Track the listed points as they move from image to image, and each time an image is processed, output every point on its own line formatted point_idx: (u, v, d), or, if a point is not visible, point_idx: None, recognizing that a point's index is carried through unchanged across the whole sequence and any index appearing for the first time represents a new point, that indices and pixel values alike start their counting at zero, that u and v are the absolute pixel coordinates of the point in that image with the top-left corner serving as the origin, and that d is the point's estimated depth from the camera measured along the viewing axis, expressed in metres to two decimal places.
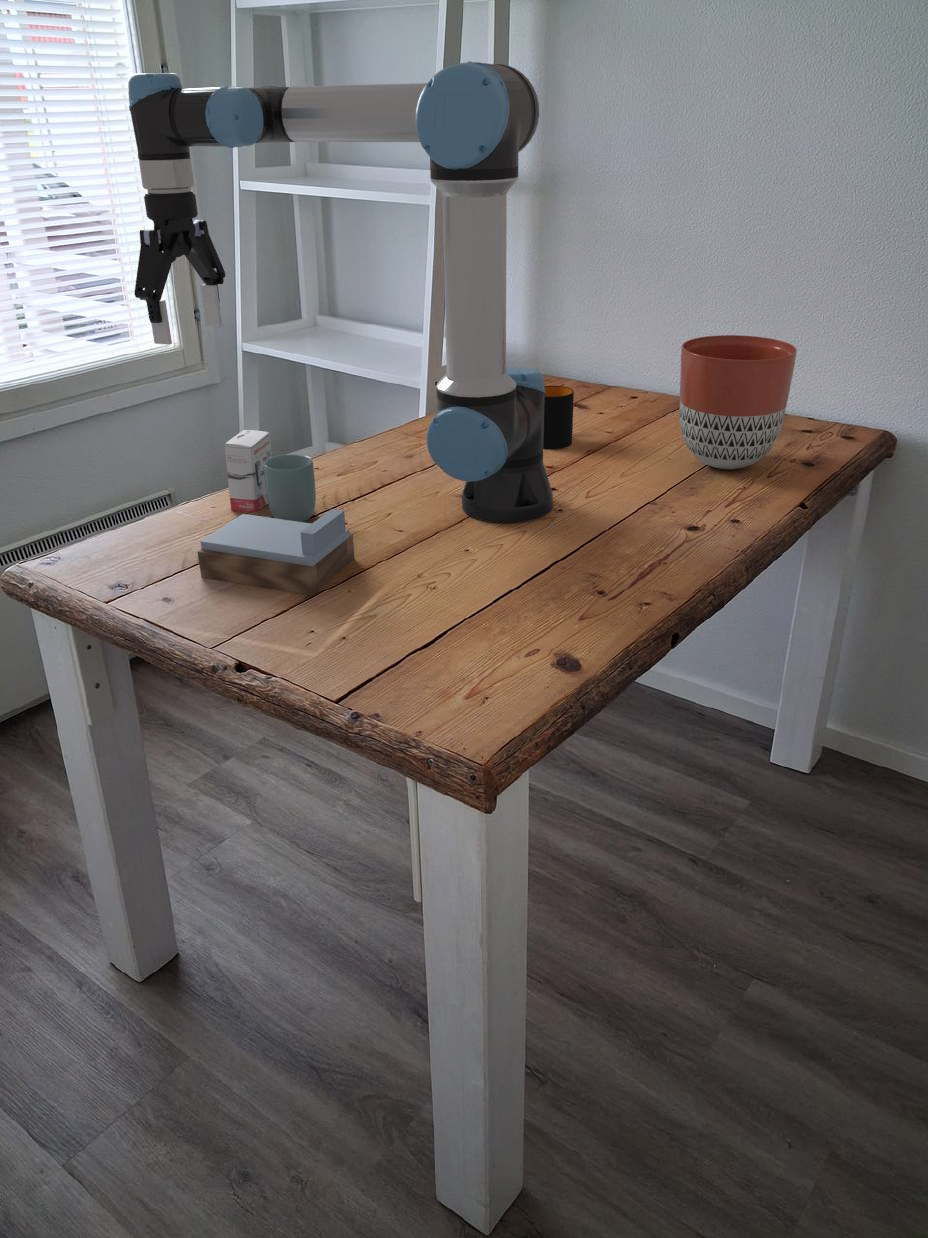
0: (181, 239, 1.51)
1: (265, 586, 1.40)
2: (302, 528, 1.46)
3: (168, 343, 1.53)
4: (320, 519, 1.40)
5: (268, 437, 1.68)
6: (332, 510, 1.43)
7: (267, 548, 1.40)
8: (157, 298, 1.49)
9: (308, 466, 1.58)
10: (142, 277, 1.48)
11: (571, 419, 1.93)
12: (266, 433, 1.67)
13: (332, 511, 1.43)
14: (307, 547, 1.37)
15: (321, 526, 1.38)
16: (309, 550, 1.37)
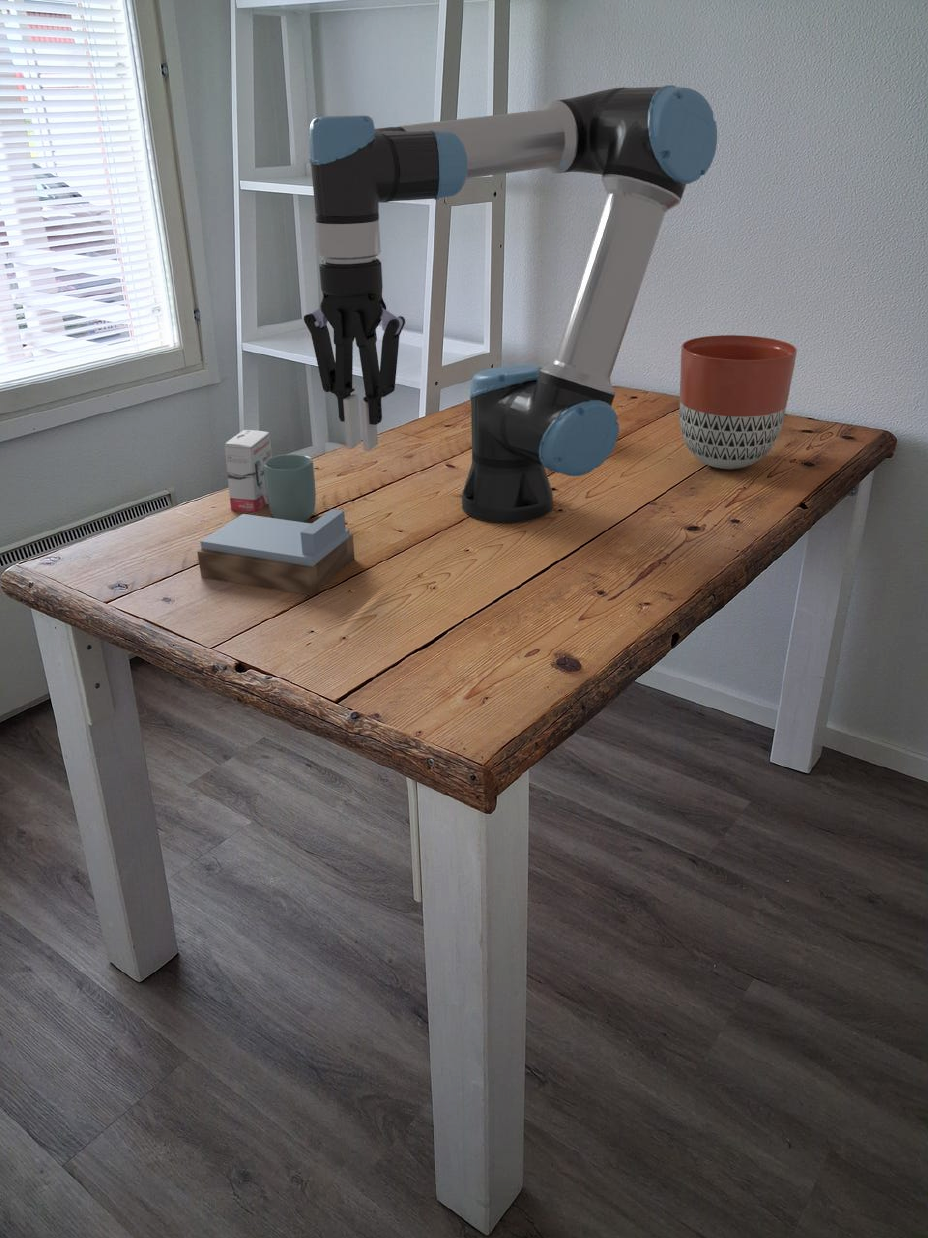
0: (338, 317, 1.23)
1: (265, 586, 1.40)
2: (302, 528, 1.46)
3: (347, 446, 1.31)
4: (320, 519, 1.40)
5: (268, 437, 1.68)
6: (332, 510, 1.43)
7: (267, 548, 1.40)
8: (338, 396, 1.28)
9: (308, 466, 1.58)
10: None
11: None
12: (266, 433, 1.67)
13: (332, 511, 1.43)
14: (307, 547, 1.37)
15: (321, 526, 1.38)
16: (309, 550, 1.37)
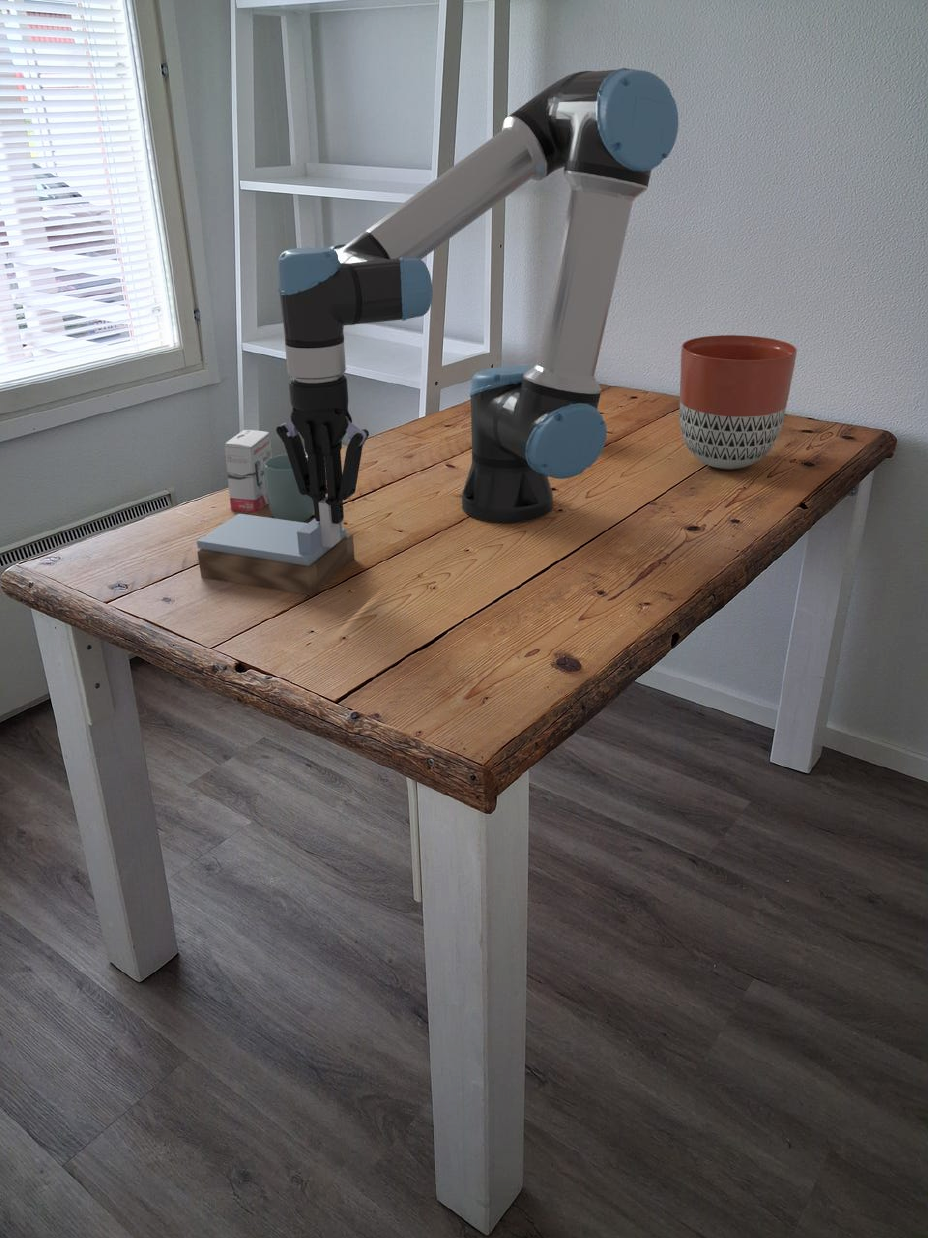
0: (307, 429, 1.31)
1: (265, 586, 1.40)
2: (298, 528, 1.46)
3: (322, 544, 1.40)
4: None
5: (268, 437, 1.68)
6: None
7: (263, 547, 1.40)
8: (314, 499, 1.37)
9: None
10: None
11: None
12: (266, 433, 1.67)
13: None
14: (303, 546, 1.37)
15: (317, 525, 1.38)
16: (306, 549, 1.37)
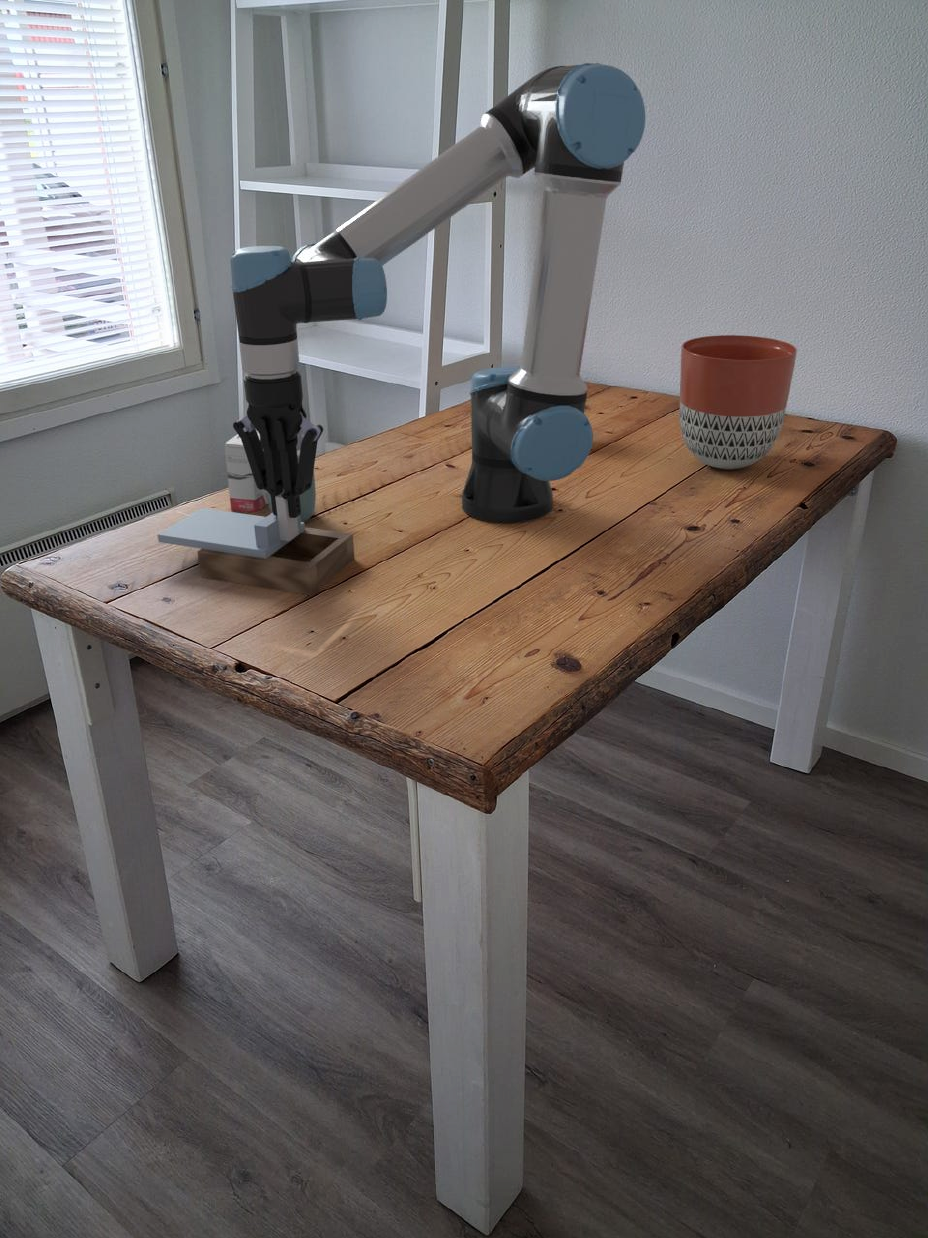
0: (262, 424, 1.34)
1: (265, 586, 1.40)
2: (258, 522, 1.48)
3: (280, 538, 1.42)
4: None
5: None
6: None
7: (222, 541, 1.42)
8: (271, 493, 1.39)
9: None
10: None
11: None
12: None
13: None
14: (260, 540, 1.39)
15: (275, 519, 1.40)
16: (263, 543, 1.39)
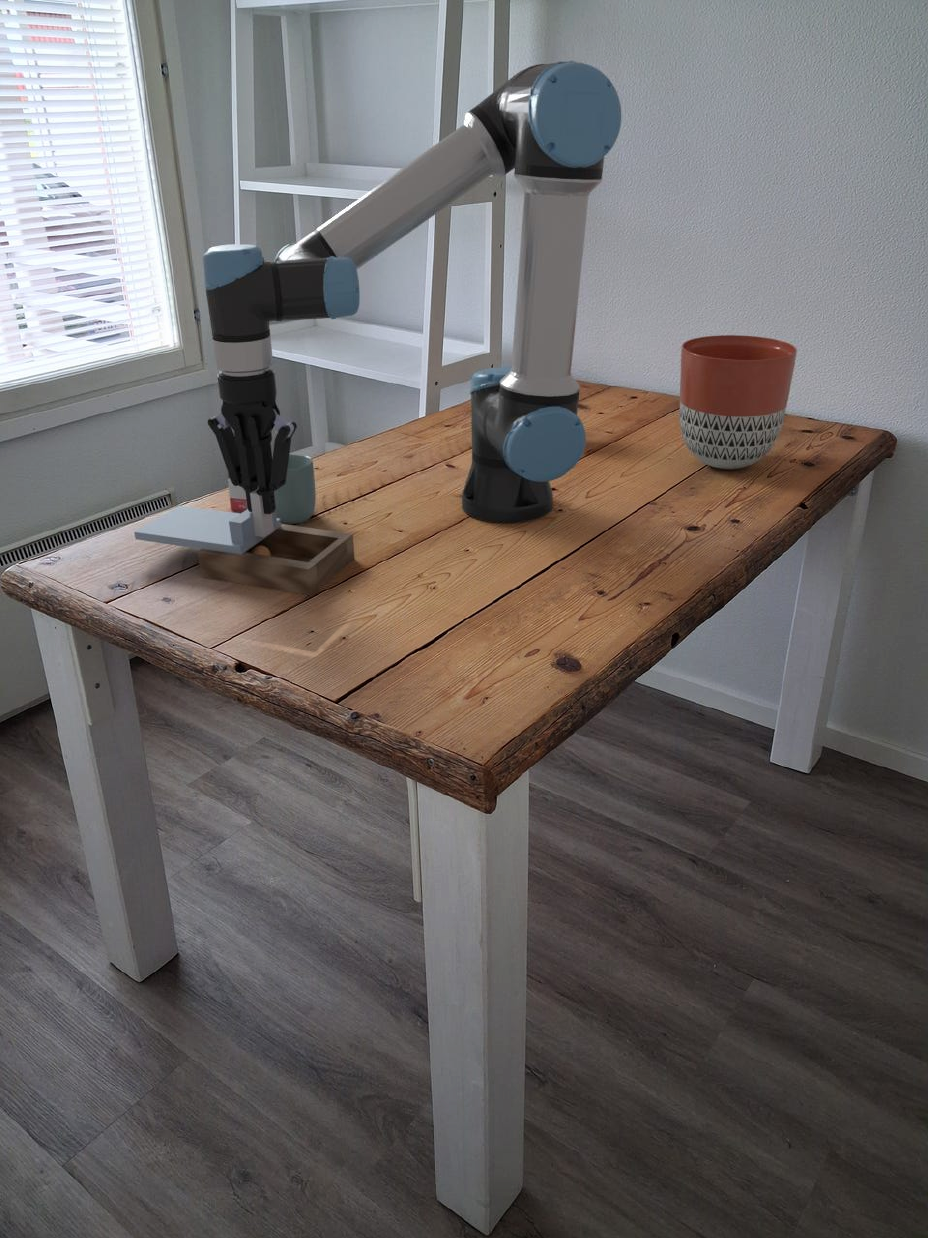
0: (236, 421, 1.35)
1: (265, 586, 1.40)
2: None
3: (255, 534, 1.43)
4: None
5: None
6: None
7: (198, 537, 1.43)
8: (245, 490, 1.40)
9: (308, 466, 1.58)
10: None
11: None
12: None
13: None
14: (235, 536, 1.41)
15: (250, 515, 1.42)
16: (238, 539, 1.41)
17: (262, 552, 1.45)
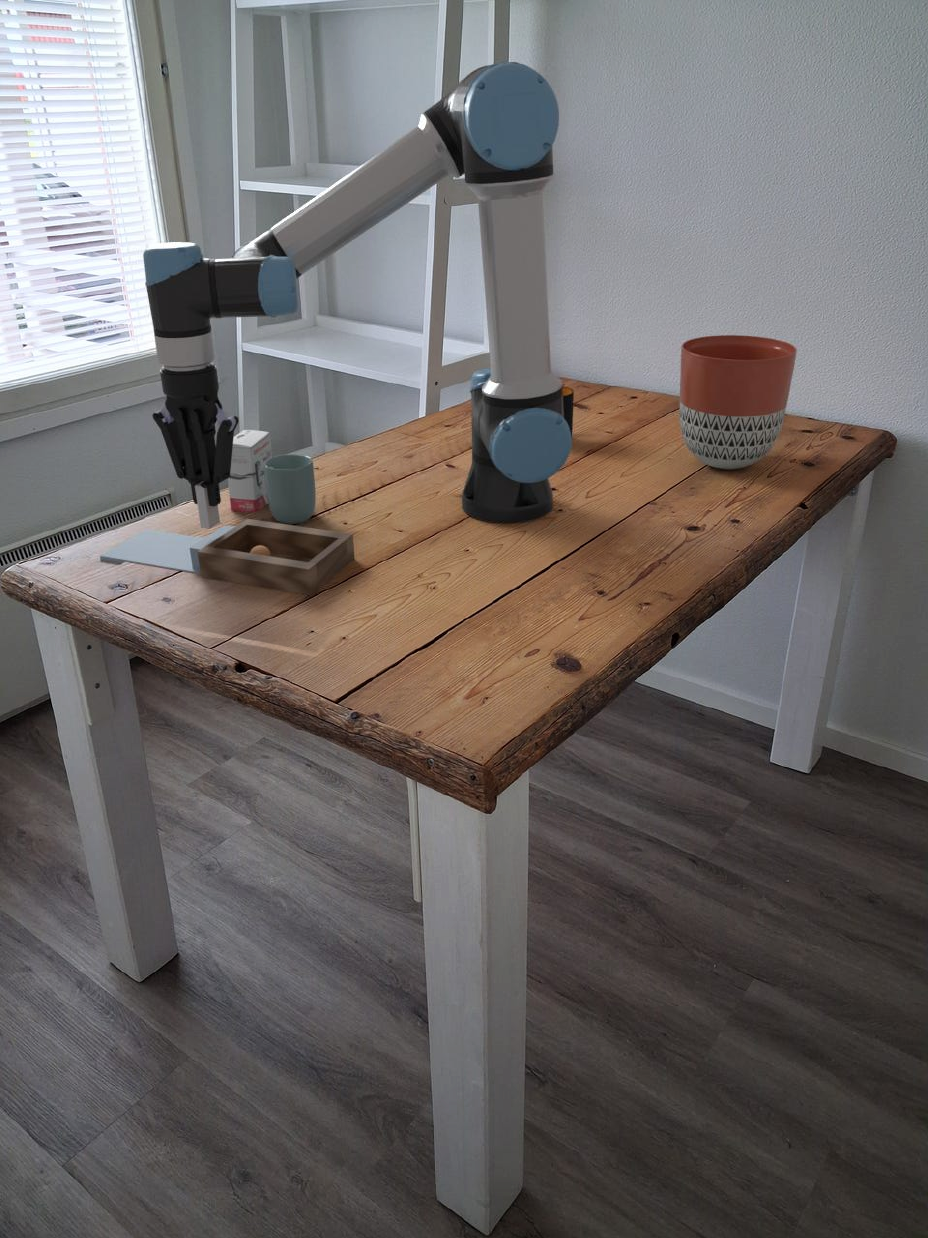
0: (179, 415, 1.38)
1: (265, 586, 1.40)
2: None
3: (201, 526, 1.46)
4: (211, 535, 1.49)
5: (268, 437, 1.68)
6: (224, 526, 1.52)
7: (160, 562, 1.48)
8: (190, 482, 1.44)
9: (308, 466, 1.58)
10: None
11: (571, 419, 1.93)
12: (266, 433, 1.67)
13: (224, 527, 1.51)
14: (196, 562, 1.45)
15: (210, 542, 1.46)
16: (198, 565, 1.46)
17: (262, 552, 1.45)
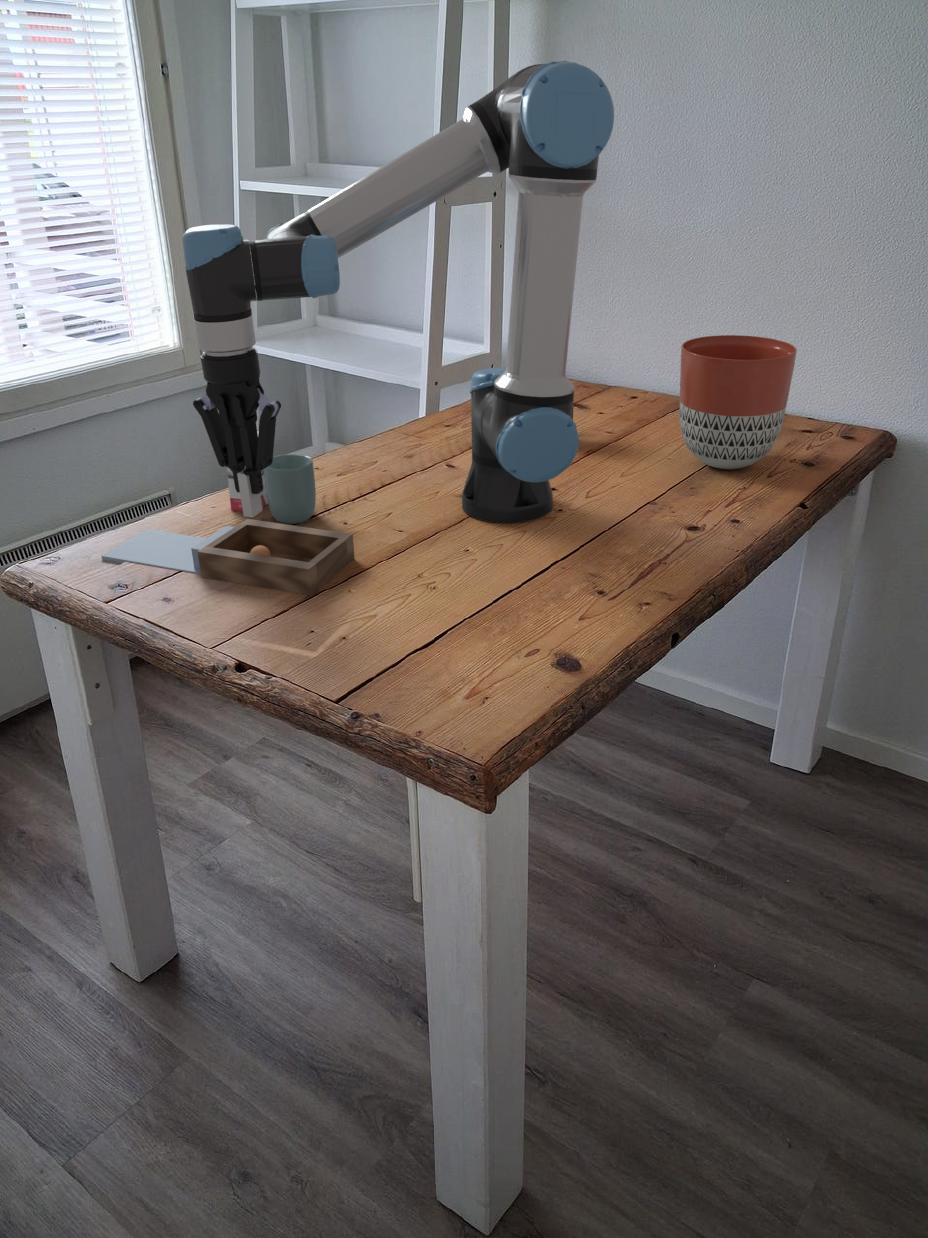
0: (221, 401, 1.36)
1: (265, 586, 1.40)
2: None
3: (244, 515, 1.44)
4: (213, 535, 1.49)
5: None
6: (226, 527, 1.52)
7: (162, 563, 1.48)
8: (232, 470, 1.41)
9: (308, 466, 1.58)
10: None
11: None
12: None
13: (226, 528, 1.51)
14: (198, 562, 1.45)
15: None
16: None
17: (262, 552, 1.45)
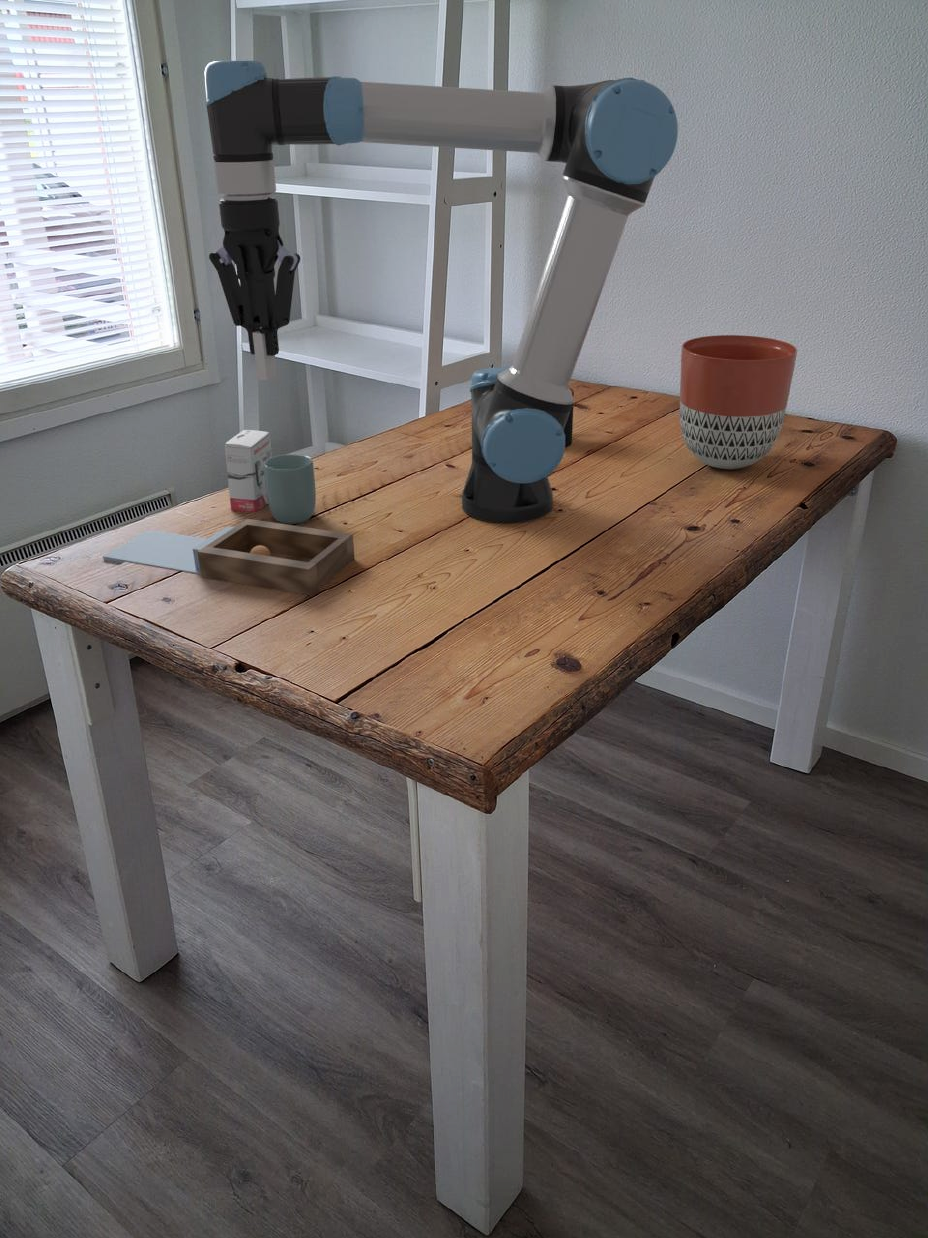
0: (238, 252, 1.32)
1: (265, 586, 1.40)
2: None
3: (258, 378, 1.40)
4: (214, 536, 1.48)
5: (268, 437, 1.68)
6: (228, 527, 1.51)
7: (163, 563, 1.48)
8: (248, 329, 1.37)
9: (308, 466, 1.58)
10: None
11: (571, 419, 1.93)
12: (266, 433, 1.67)
13: (227, 528, 1.51)
14: None
15: None
16: None
17: (262, 552, 1.45)
